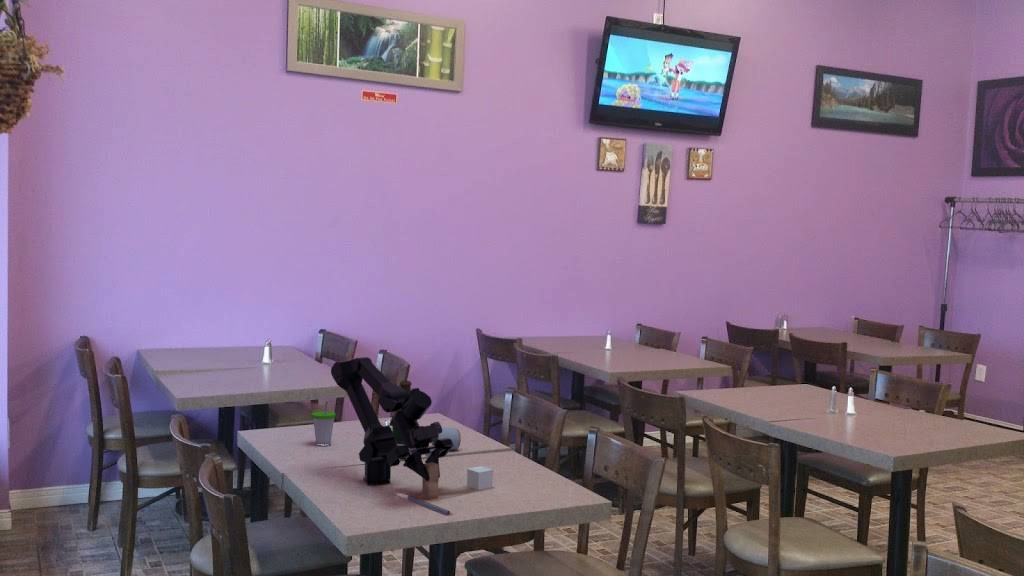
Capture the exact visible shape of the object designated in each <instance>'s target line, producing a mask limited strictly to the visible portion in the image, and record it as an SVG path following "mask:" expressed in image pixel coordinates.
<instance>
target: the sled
mask: <svg viewBox="0 0 1024 576" xmlns="http://www.w3.org/2000/svg"><path fill="white" fill-rule="evenodd" d="M423 464H424V466H425V468H426V470H427V472H428V475H429V478H430V479H429V481H426V480H425V479H424V478H422V481H421V482H422V486H421V487H422V489H421V492H422V493H421V495H418V496H416V498H417V497H418V499H421V500H424V501H426V502H429V503H432V502H436V501H441V500H446V499H450V498H455V497H460V496H463V495H469V494H474V493H478V492H483V491H487V490H492V489H495V488H496V487H495V486H493V488H488V489H484V490H479V491H478V490H475V489H473V488H470V487H467V485H465V486H460V487H456V488H455V487H454V488H451V489H445V490H441V491H439V480H440V478H439V470H440V463H439V464H436V463H433V462H430V463H425V462H424V463H423Z"/></svg>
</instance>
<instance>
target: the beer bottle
mask: <svg viewBox="0 0 1024 576" xmlns="http://www.w3.org/2000/svg"><path fill="white" fill-rule="evenodd" d="M398 386H400V387H402V388H403V389H404V390H406V391H407V392H408V394H410V392H411V390H412V387H411V386H412V381H410V380H401V381H400V382H399V385H398ZM397 412H398V411H395V412H393V416H394V415H395V414H396V413H397ZM391 427H392V428H391V430H392V433H393V434H394V436H395V440H396V443H397V446H403V445H405V444H404V443H401V442H400V439H401V435H400V433H399V431H398V429H397V427H396V425H394V426H391ZM401 459H404V458H401Z"/></svg>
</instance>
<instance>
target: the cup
mask: <svg viewBox="0 0 1024 576" xmlns="http://www.w3.org/2000/svg"><path fill="white" fill-rule="evenodd" d="M327 406H328V401H326V402H325V404H324V411H315V412H312V413H311V418H312V421H313V428H314V437H315V444H316V443H317V444H324V445H325V444H330V443H331V442H332V437H333V429H334V424H335V423H334V421H335V418H337V417H336V416H337V414H336V412H334V411H327ZM331 444H332V443H331ZM331 444H330V445H331Z"/></svg>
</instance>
